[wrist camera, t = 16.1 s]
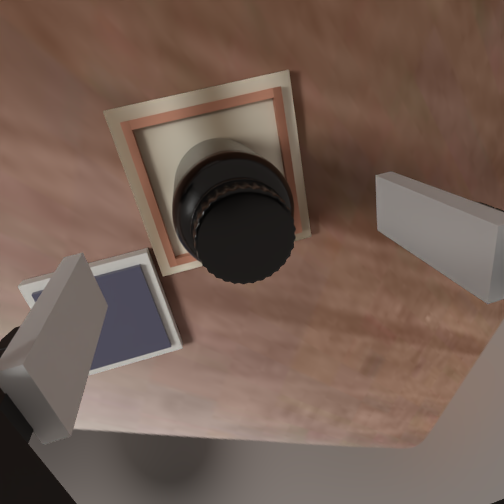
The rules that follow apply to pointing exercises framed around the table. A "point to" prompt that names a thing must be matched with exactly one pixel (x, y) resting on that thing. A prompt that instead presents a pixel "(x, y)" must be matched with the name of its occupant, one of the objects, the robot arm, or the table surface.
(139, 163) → the board
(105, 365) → the ink pad
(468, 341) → the table surface
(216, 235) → the supplement bottle
